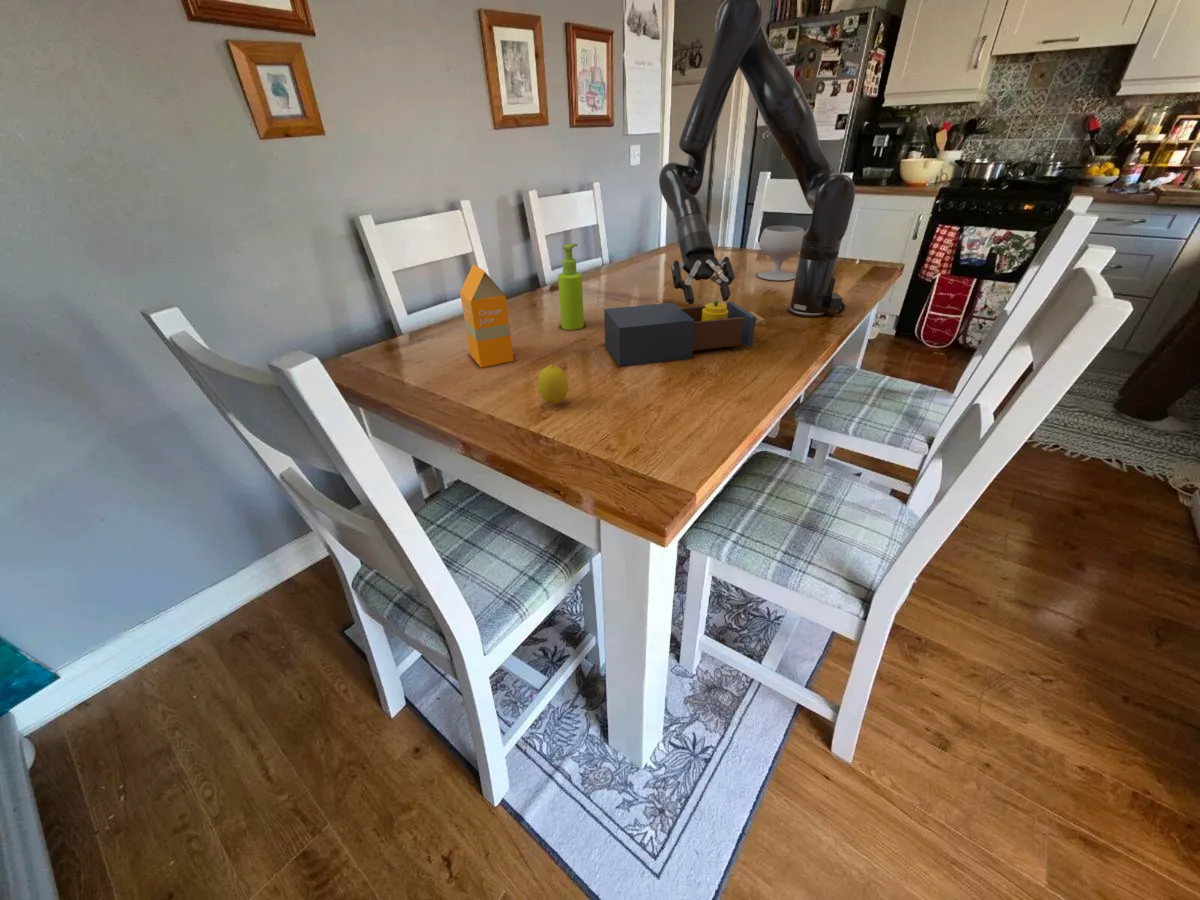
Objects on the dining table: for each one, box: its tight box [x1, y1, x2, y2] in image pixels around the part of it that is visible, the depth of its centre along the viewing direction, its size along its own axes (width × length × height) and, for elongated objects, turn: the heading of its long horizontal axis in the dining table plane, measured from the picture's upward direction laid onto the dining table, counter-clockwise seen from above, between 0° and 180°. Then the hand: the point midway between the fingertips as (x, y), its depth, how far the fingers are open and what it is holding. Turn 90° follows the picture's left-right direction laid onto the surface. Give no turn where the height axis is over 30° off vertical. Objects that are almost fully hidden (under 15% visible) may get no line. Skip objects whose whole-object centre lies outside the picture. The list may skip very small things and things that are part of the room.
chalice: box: [757, 225, 805, 281], centre depth 167 cm, size 14×14×15 cm
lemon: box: [537, 364, 569, 406], centre depth 94 cm, size 6×6×8 cm
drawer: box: [679, 301, 767, 352], centre depth 118 cm, size 20×12×7 cm, turn 103°
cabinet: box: [603, 302, 695, 367], centre depth 115 cm, size 17×14×9 cm
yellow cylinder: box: [701, 300, 728, 321], centre depth 117 cm, size 6×6×8 cm
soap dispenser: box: [557, 243, 585, 331], centre depth 129 cm, size 6×7×20 cm
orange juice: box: [459, 263, 514, 368], centre depth 111 cm, size 8×9×20 cm
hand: (709, 301), depth 118 cm, fingers open, 8 cm apart
